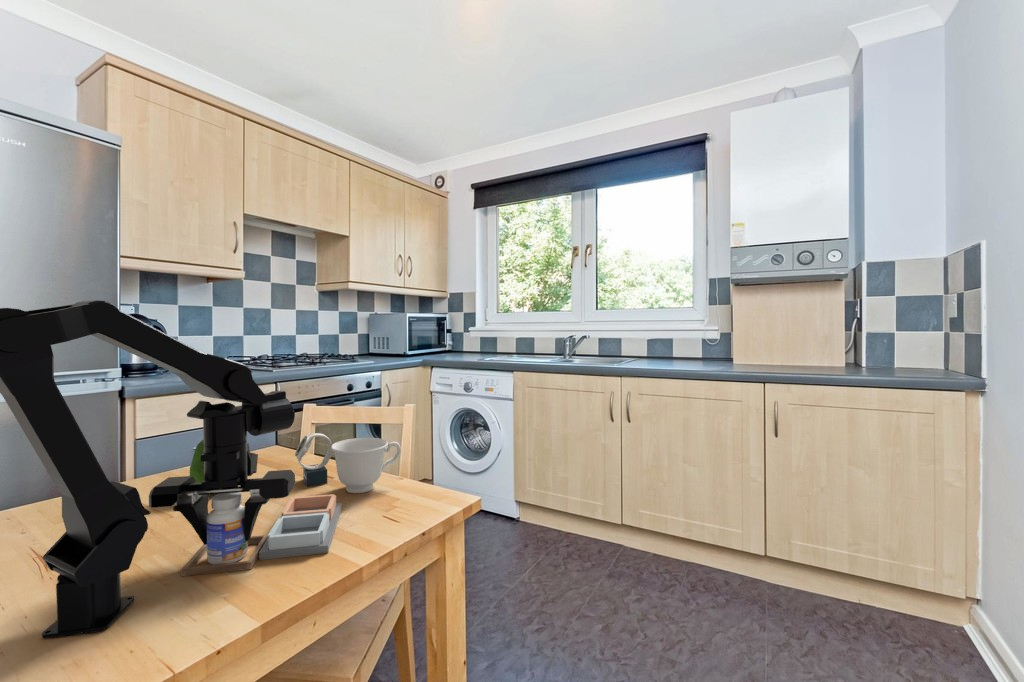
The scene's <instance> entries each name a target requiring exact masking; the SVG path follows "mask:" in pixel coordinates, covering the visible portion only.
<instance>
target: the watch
mask: <svg viewBox="0 0 1024 682" xmlns="http://www.w3.org/2000/svg"><path fill="white" fill-rule="evenodd" d="M316 437H318V438H319V437H321V438H324V439H326V440H327V441H328V442H329V444H328V448H327V451H326V454H325V455H324V457H323V458H322V461H321V462H320V463H317V464H310V465H307V464H304V463H302V458H303V457H305V455H306V454H307V453H308V451H309V449H310V447H311V445H312V441H313V440H314V438H316ZM333 444H334V443H333V441H332V440H331V439H330V438H329V437H328V436H327V435H325V434H323V433H320V432H314V433H310V434H308V435H304V436H303V438H302V439H301V441H300V442H299V443H298V445H297V447H296V450H295V452H294V454H295V455H294V456H295V457H296V459H297V461H298V463H299V465H300V466H301V467H302V468H303V470H302V471H303V473H302V475H303V482H304V484H305V485H306V487H308V488H309V487H313V486H318V485H319V486H321V485H326V484H328V469H327V468H326V466H327V464H328V463H329V461H330V459H331V458H332V455H333V454H334V452H333V450H332V449H331V446H332V445H333Z"/></svg>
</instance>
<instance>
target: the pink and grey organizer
mask: <svg viewBox="0 0 1024 682" xmlns="http://www.w3.org/2000/svg"><path fill="white" fill-rule="evenodd" d="M342 510H343V503H342V502H337V495H335V493H333V494H331V493H329V494H318V495H309V496H307V495H306V496H294V497H292V498H290V499H289V500H288V502H287V503H286V505H285V507H284V509H283V510H282V512H281V516H280V517H279V518H277V519H276V521H275V522H274V524H273V526H272V528H271V529H270V530H269V532H268V534H267V535H268V539H267V541H266V542H265V544H264V545H263V547H262V549H261V550H260V552H259V557H258V560H260V561H262V560H271V559H281V558H282V559H283V558H292V557H301V556H302V557H303V556H311V555H318V554H321V555H322V554H328V553H329V551H330V548H331V545H332V542H333V539H334V535H335V533H336V529H337V525H338V522H339V519H340V518H341V517H340V515H341V513H342Z"/></svg>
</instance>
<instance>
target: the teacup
mask: <svg viewBox="0 0 1024 682" xmlns="http://www.w3.org/2000/svg"><path fill="white" fill-rule="evenodd" d="M332 444H333V445H332V446H331V449H332V450H333V454H334V458H335V459H334V460H335V465H336V472H337V477H338V480H339V481H340V483H341V484H342V485H344V486H346V489H345V490H346V492H348V493H351V494H363V493H366V492H367V493H368V492H370V491H372V490H373V489H374V488H375V487H374V483H376V482H377V481H378V480H379V479H380V477H381V475H382V472H383V470H384V469H385V468H386V466H388V465H389V464H392V463H394V462H396V461H397V460H398V459H399V458H400V456H401V455H402V454H401V453H402V448H401V445H400V444H399V442H397V441H391V442H389V443H388V441H387V440H386V439H383V438H378V437H353V438H348V439H343V440H339V441H336V442H334V443H332ZM392 447H396V453H395V455H393V456H392V457H391V458H388V459H387V460H386V461H384V456H385V453H389V452H391V448H392Z"/></svg>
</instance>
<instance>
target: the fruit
mask: <svg viewBox="0 0 1024 682" xmlns="http://www.w3.org/2000/svg"><path fill="white" fill-rule="evenodd" d="M193 453H194V454H193V456H192V459H191V464H190V467H189V476H193V477H194V478H195V483H197V482H202V481H204V462H201V455H202V454H203V453H204V438H202V440H201V441H200V442H199V443H198V444H196V446H195V450H194V452H193Z"/></svg>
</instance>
